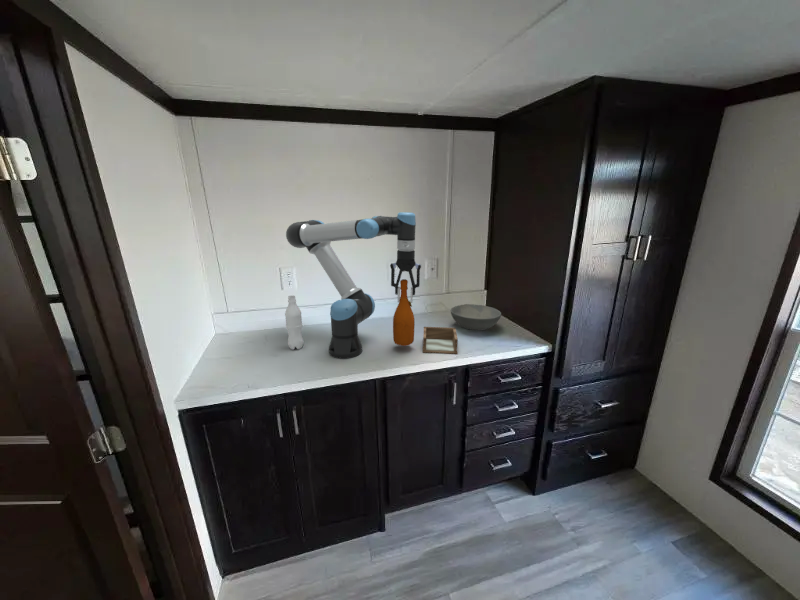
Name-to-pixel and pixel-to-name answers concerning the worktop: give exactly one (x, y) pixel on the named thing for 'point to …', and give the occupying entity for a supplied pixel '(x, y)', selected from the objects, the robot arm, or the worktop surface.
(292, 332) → the water bottle
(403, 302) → the wine bottle
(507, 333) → the worktop surface
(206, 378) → the worktop surface
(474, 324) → the bowl
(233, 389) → the worktop surface
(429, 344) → the walnut U-rest
